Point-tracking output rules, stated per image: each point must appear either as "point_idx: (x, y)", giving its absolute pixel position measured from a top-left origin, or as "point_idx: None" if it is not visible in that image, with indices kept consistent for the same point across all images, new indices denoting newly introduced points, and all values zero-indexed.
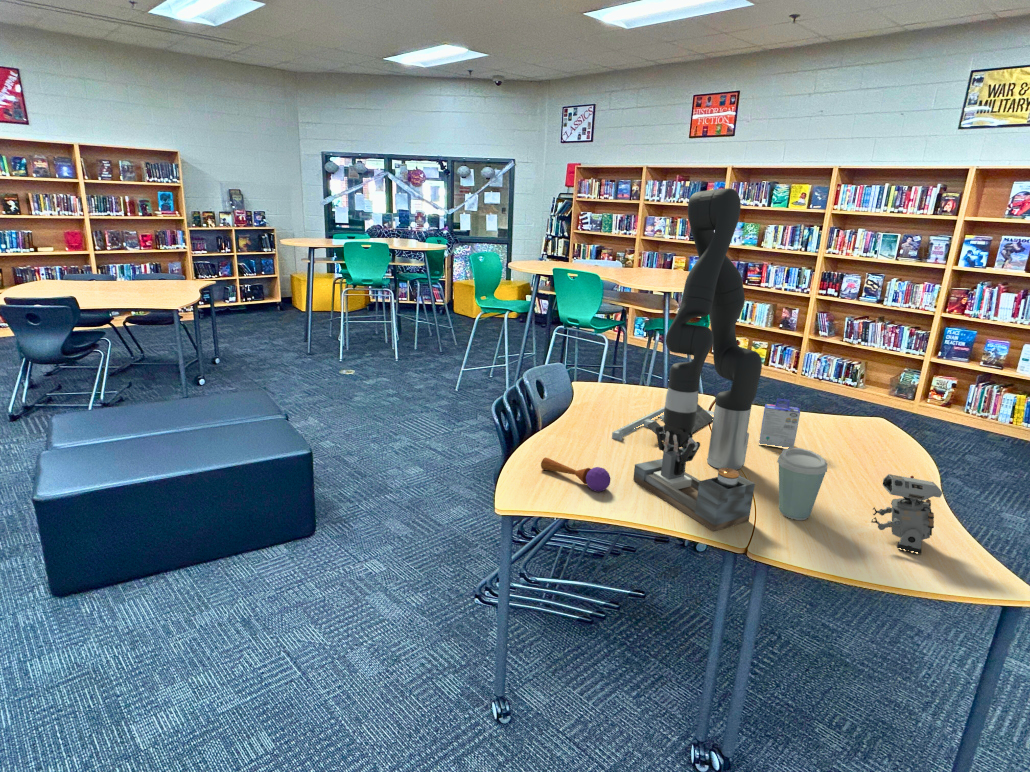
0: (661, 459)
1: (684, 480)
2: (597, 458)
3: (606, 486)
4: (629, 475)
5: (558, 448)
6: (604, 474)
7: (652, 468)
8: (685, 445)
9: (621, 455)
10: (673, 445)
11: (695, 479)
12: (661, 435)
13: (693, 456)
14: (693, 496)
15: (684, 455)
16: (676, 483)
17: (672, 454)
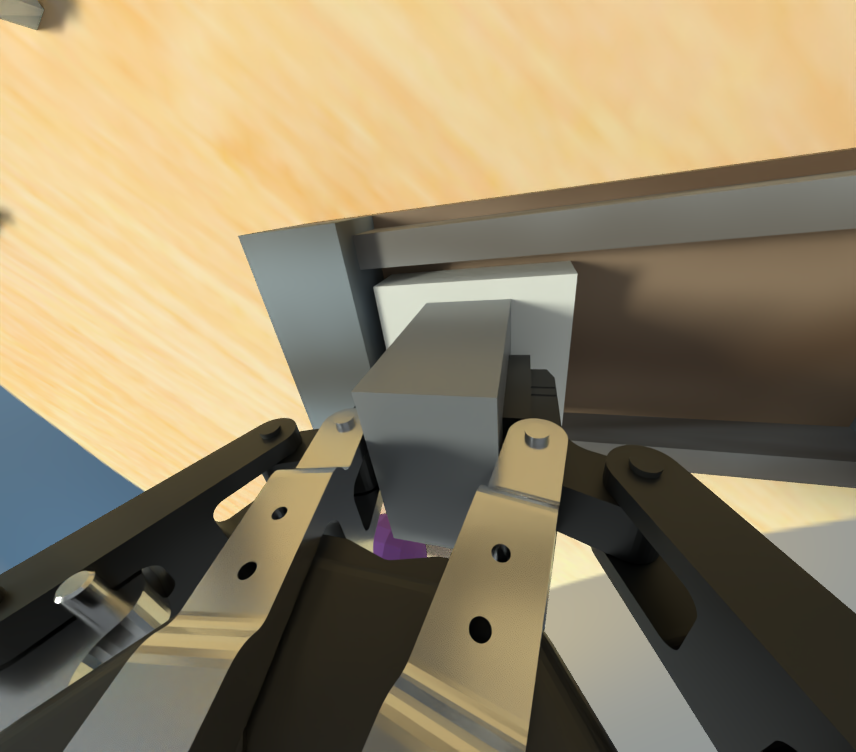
0: (269, 300)
1: (567, 343)
2: (189, 401)
3: (423, 547)
4: None
5: (142, 449)
6: None
7: None
8: (565, 665)
9: (142, 307)
10: (348, 520)
11: (585, 233)
12: (180, 596)
13: (747, 535)
14: (678, 332)
15: (655, 618)
16: (562, 401)
17: (449, 515)
